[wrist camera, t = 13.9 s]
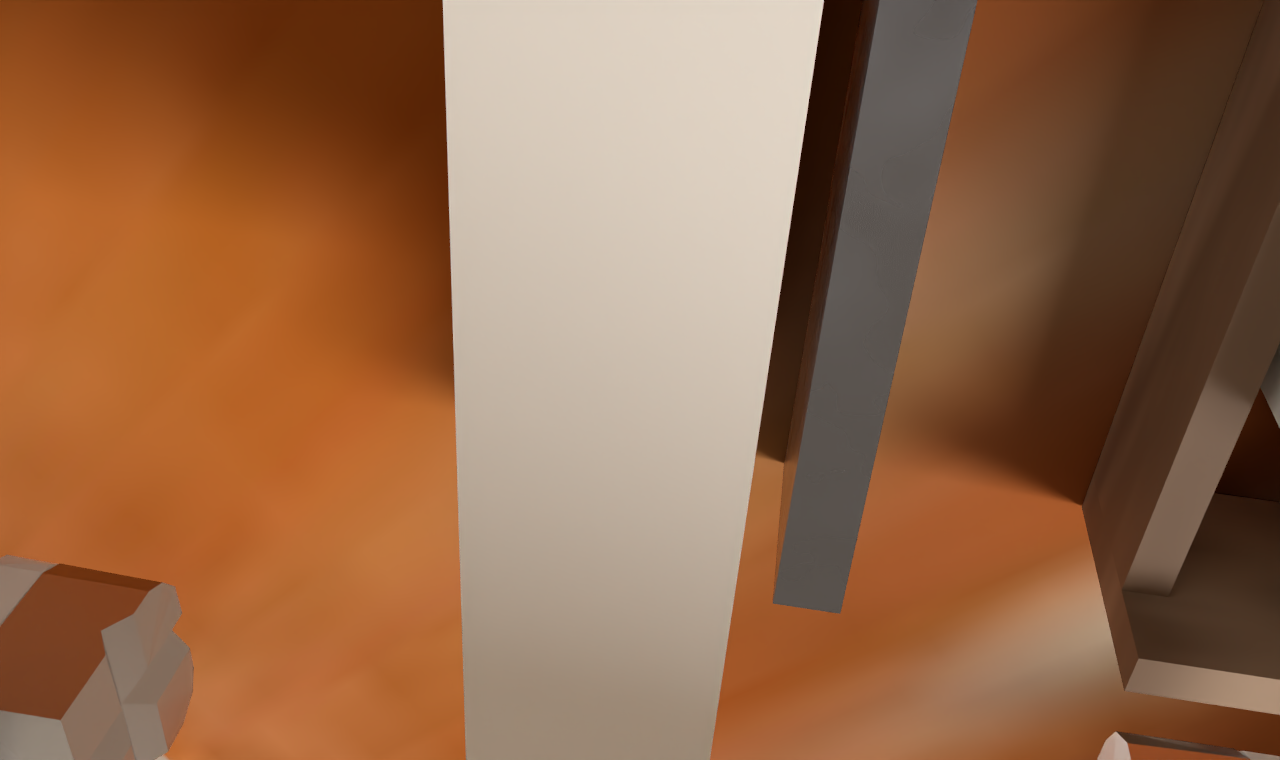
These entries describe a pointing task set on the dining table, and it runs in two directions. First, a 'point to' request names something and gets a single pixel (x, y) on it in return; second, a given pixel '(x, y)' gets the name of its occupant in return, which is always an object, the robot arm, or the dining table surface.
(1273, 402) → the offcut short
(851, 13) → the dining table surface
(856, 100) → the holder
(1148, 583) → the rack
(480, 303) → the cream rectangular board
